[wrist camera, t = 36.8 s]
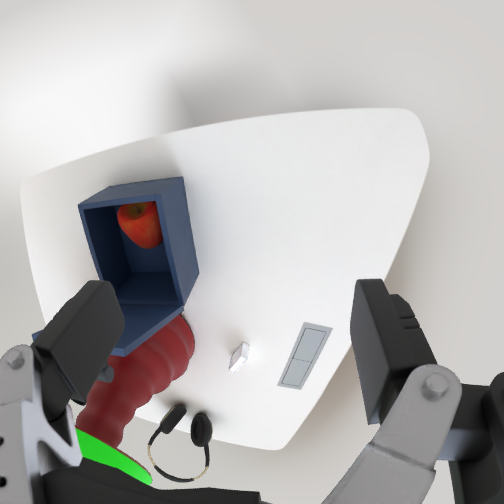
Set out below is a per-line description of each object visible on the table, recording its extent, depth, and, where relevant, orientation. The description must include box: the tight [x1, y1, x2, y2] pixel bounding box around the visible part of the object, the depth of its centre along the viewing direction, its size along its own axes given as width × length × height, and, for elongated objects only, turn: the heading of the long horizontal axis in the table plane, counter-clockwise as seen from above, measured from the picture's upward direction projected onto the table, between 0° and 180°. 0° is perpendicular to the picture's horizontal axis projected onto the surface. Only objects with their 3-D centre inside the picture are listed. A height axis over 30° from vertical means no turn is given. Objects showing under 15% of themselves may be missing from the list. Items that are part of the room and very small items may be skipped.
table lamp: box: [75, 315, 195, 485], centre depth 36 cm, size 20×20×45 cm
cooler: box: [78, 177, 199, 306], centre depth 42 cm, size 16×13×9 cm
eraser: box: [229, 342, 249, 373], centre depth 54 cm, size 1×5×4 cm, turn 150°
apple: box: [117, 201, 163, 249], centre depth 41 cm, size 6×6×8 cm
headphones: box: [148, 406, 213, 482], centre depth 58 cm, size 9×15×20 cm, turn 61°
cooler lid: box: [32, 303, 184, 383], centre depth 33 cm, size 16×13×5 cm
